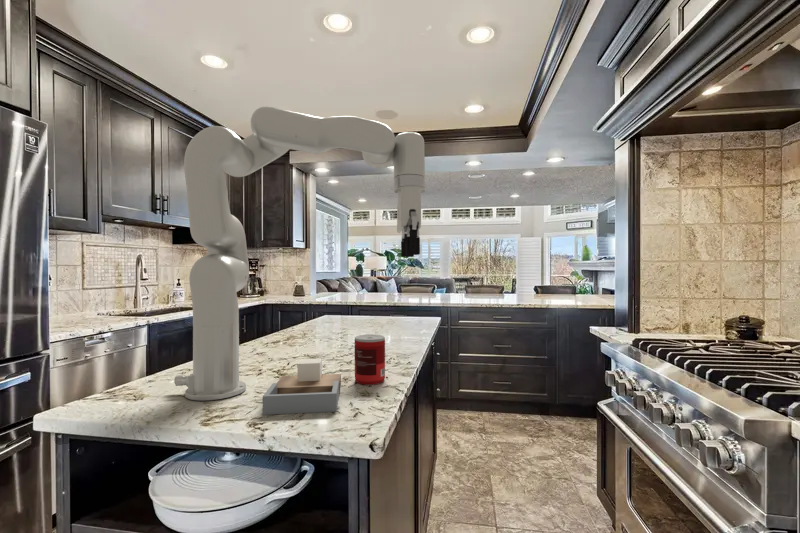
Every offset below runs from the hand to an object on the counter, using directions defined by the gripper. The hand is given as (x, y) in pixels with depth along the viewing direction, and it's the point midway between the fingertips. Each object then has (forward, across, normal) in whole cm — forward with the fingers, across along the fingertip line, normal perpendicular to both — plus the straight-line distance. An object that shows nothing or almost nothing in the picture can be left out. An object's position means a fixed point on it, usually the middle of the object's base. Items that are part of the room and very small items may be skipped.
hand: (410, 255), depth 94 cm
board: (+31, +2, -24) cm, 39 cm away
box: (+31, +11, -24) cm, 41 cm away
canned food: (+31, -5, -10) cm, 33 cm away
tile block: (+29, 0, -24) cm, 37 cm away
